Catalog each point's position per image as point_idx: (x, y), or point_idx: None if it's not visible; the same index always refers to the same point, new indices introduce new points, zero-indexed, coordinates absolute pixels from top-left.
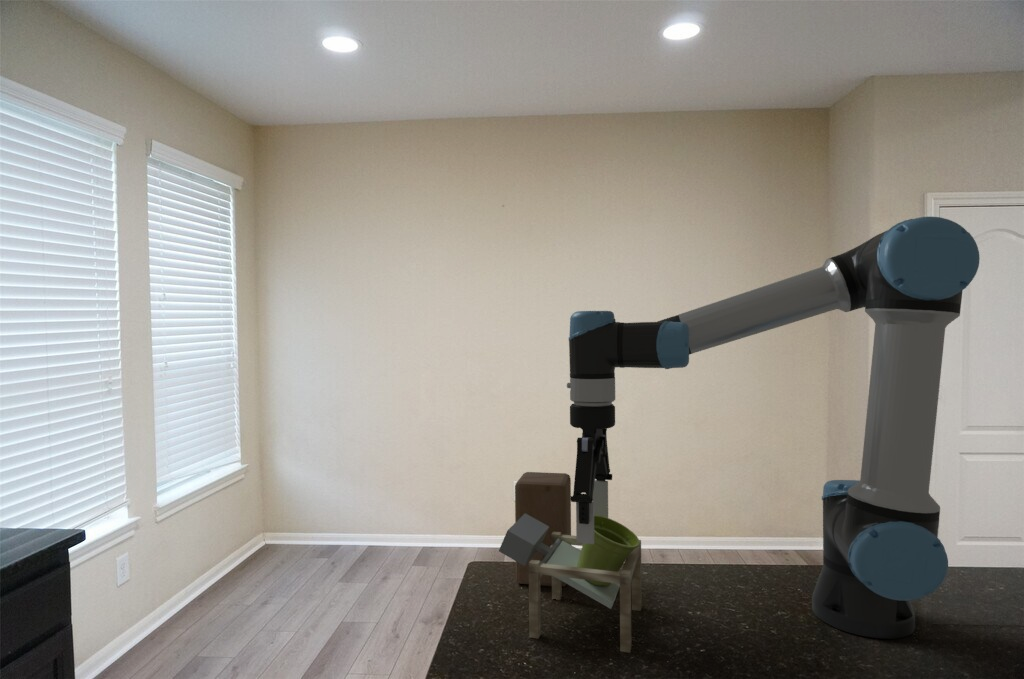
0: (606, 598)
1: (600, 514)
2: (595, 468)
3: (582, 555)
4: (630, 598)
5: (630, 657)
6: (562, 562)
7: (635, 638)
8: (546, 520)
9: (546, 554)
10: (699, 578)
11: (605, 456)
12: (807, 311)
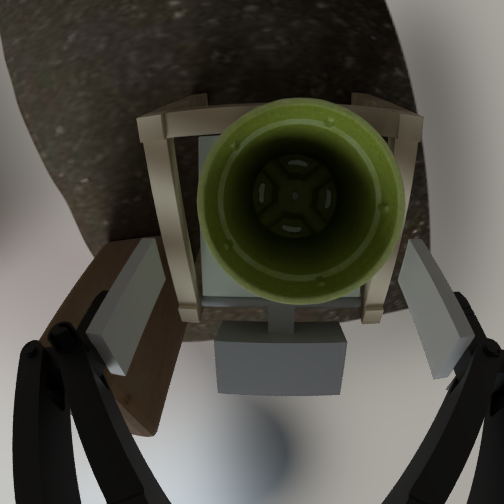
0: None
1: (156, 265)
2: (434, 476)
3: (327, 243)
4: (386, 104)
5: (379, 92)
6: None
7: (316, 87)
8: (150, 342)
9: (306, 307)
10: (46, 45)
11: (43, 434)
12: None
